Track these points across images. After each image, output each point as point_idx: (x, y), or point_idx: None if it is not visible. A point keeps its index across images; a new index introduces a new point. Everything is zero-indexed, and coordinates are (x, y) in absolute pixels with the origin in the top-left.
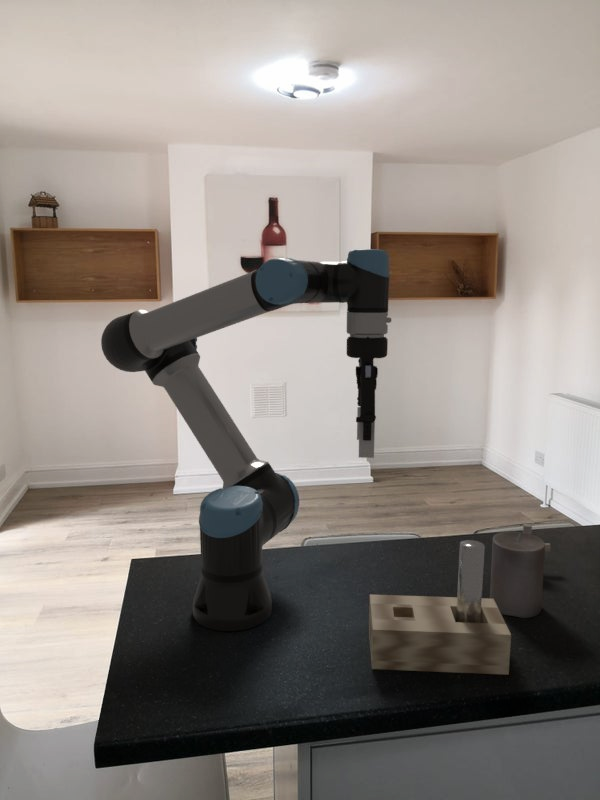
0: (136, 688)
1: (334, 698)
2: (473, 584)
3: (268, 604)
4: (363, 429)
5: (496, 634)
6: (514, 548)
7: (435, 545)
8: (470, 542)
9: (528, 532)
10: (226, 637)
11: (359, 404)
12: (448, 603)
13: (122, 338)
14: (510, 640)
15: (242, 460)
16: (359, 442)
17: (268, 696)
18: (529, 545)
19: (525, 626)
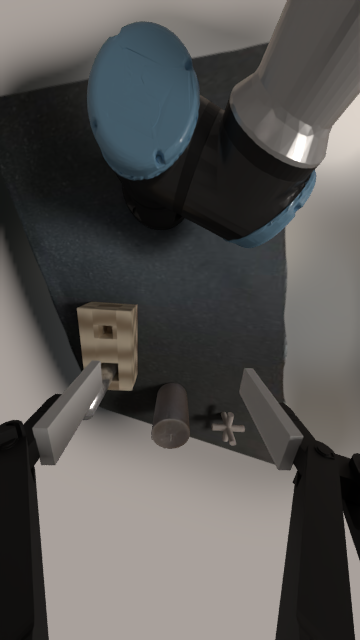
0: (36, 115)
1: (57, 276)
2: None
3: (149, 225)
4: (29, 419)
5: None
6: (155, 428)
7: (267, 369)
8: (88, 411)
9: (228, 438)
10: (117, 191)
11: (306, 452)
12: (121, 363)
13: None
14: None
15: (280, 70)
16: (73, 381)
17: (50, 231)
18: (160, 438)
19: (148, 393)
